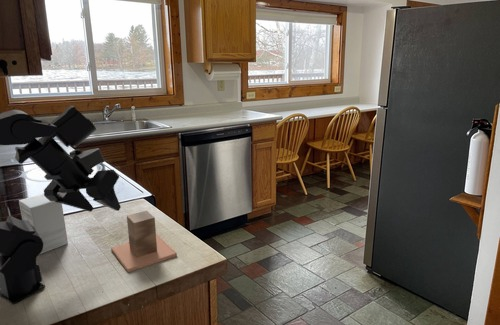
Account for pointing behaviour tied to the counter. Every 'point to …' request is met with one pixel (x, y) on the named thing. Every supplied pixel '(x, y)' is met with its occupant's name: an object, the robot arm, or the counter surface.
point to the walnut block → (142, 233)
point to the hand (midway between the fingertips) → (105, 209)
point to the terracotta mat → (135, 263)
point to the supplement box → (45, 220)
